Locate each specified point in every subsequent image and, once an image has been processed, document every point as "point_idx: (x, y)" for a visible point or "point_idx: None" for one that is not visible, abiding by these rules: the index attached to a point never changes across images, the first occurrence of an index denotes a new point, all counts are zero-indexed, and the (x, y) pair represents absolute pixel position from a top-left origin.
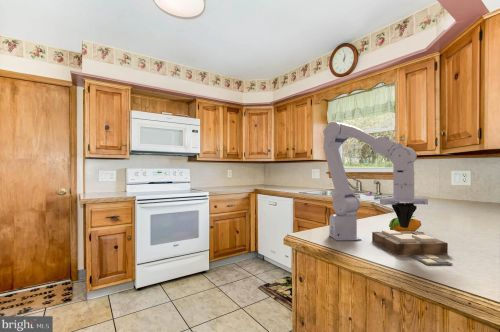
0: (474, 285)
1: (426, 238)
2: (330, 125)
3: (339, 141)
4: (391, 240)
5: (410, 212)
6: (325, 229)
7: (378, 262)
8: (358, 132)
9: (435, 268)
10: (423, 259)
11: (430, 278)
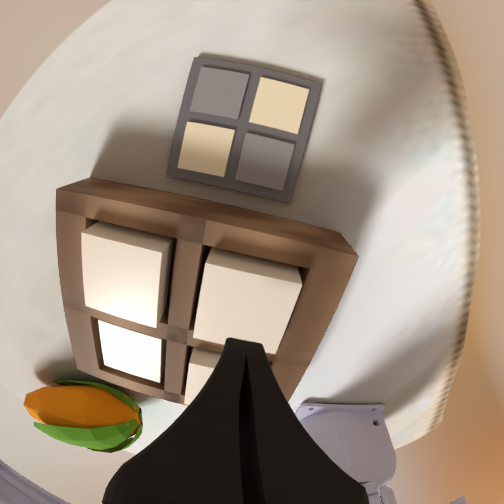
0: None
1: (128, 247)
2: None
3: None
4: (324, 313)
5: (213, 447)
6: None
7: (462, 197)
8: None
9: (315, 53)
10: (292, 125)
11: (415, 23)
